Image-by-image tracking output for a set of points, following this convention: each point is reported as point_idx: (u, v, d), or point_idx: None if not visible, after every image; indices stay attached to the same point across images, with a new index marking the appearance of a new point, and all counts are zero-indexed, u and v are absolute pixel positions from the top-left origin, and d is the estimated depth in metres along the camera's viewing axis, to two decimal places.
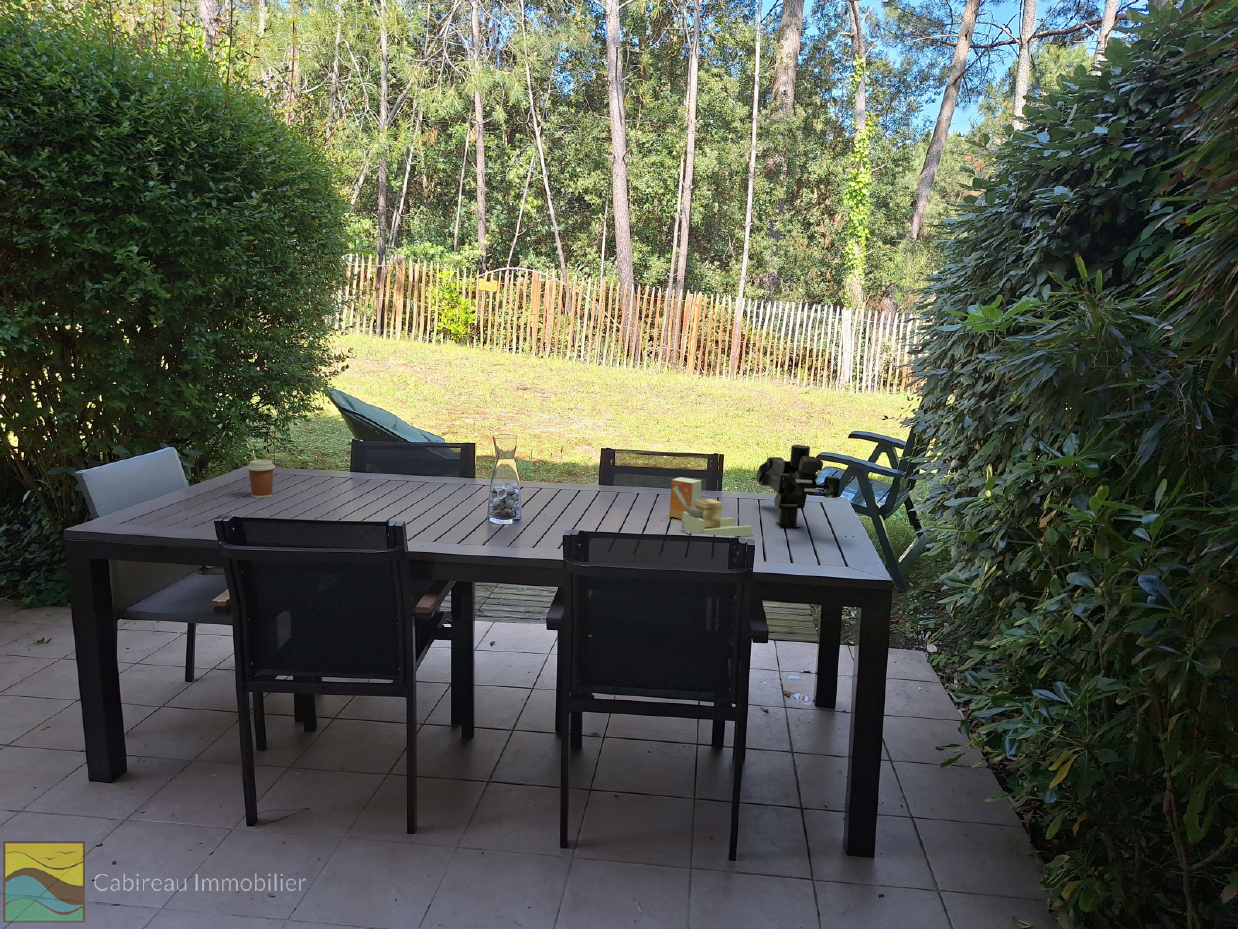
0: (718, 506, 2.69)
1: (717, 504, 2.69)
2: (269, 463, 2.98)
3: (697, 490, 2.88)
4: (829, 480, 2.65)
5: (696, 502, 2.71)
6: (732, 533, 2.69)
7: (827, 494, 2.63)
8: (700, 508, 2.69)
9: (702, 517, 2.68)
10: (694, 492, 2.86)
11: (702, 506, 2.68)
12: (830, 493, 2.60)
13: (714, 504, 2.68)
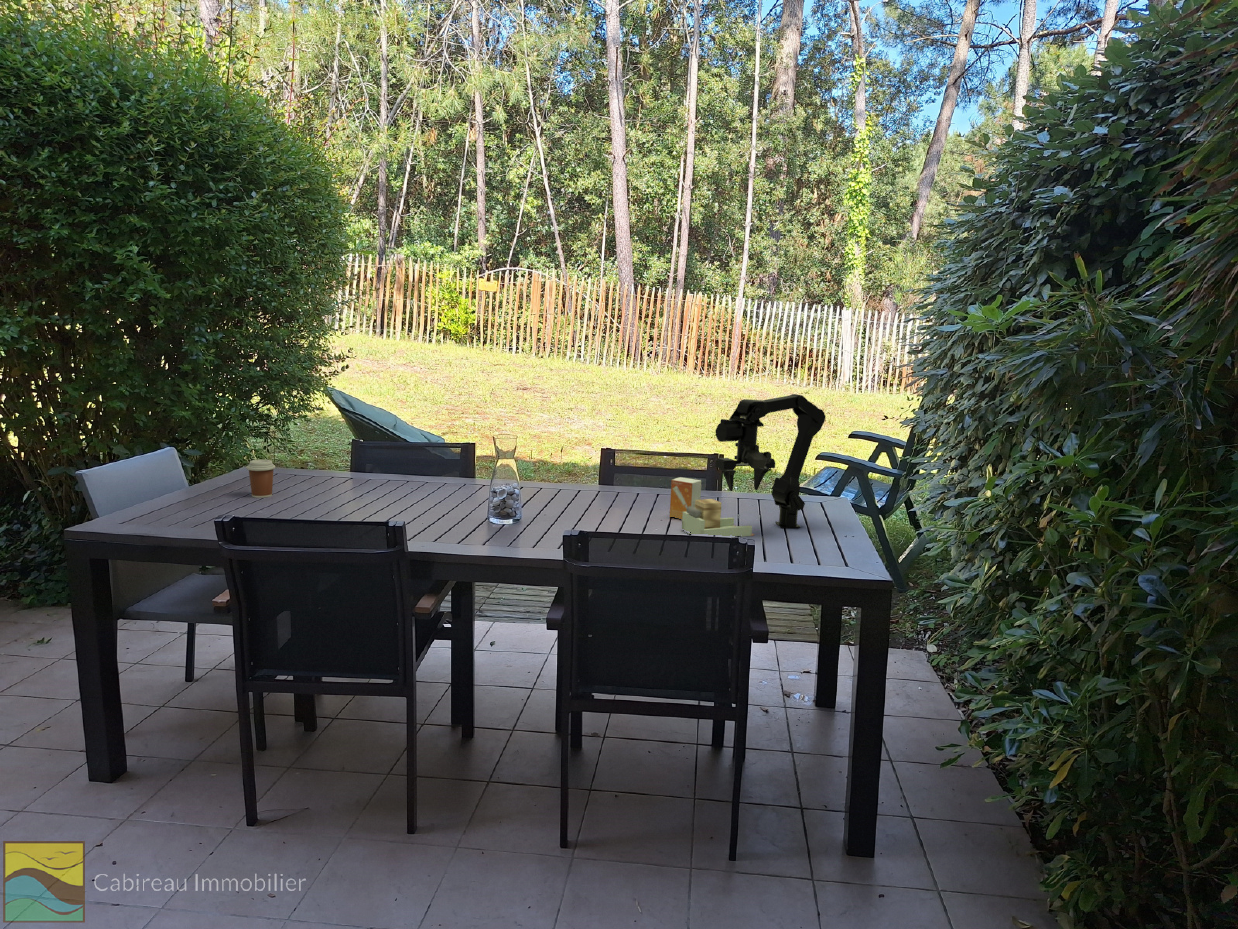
0: (718, 506, 2.69)
1: (717, 504, 2.69)
2: (269, 463, 2.98)
3: (697, 490, 2.88)
4: (764, 471, 2.74)
5: (696, 502, 2.71)
6: (732, 533, 2.69)
7: (755, 475, 2.77)
8: (700, 508, 2.69)
9: (702, 517, 2.68)
10: (694, 492, 2.86)
11: (702, 506, 2.68)
12: (755, 486, 2.77)
13: (714, 504, 2.68)
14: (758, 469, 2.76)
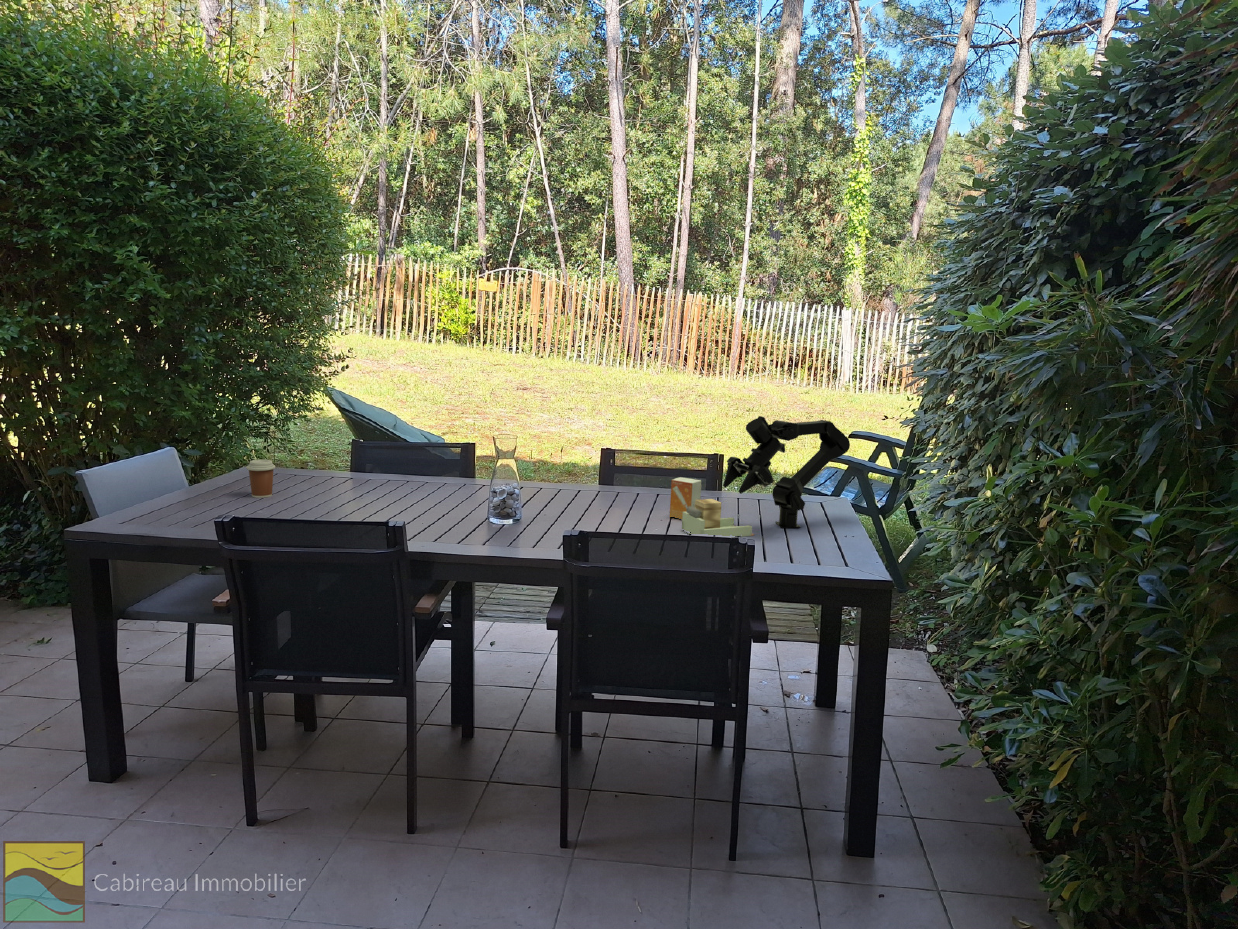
0: (718, 506, 2.69)
1: (717, 504, 2.69)
2: (269, 463, 2.98)
3: (697, 490, 2.88)
4: None
5: (696, 502, 2.71)
6: (732, 533, 2.69)
7: (730, 473, 2.77)
8: (700, 508, 2.69)
9: (702, 517, 2.68)
10: (694, 492, 2.86)
11: (702, 506, 2.68)
12: (726, 483, 2.77)
13: (714, 504, 2.68)
14: (736, 471, 2.79)
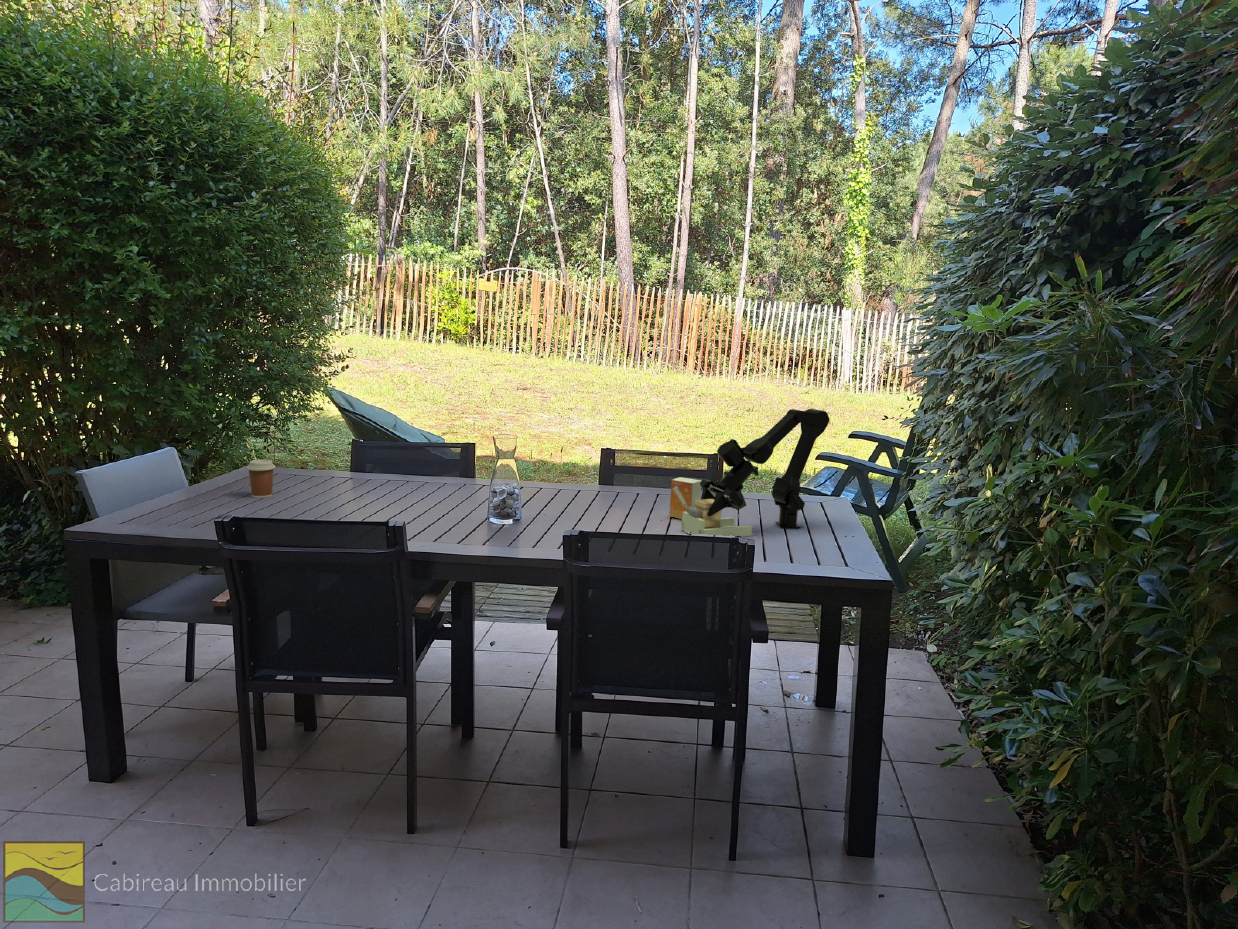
0: None
1: None
2: (269, 463, 2.98)
3: (697, 490, 2.88)
4: None
5: (696, 502, 2.71)
6: (732, 533, 2.69)
7: (705, 497, 2.73)
8: (700, 508, 2.69)
9: (702, 517, 2.68)
10: (694, 492, 2.86)
11: (702, 506, 2.68)
12: None
13: None
14: (711, 495, 2.74)
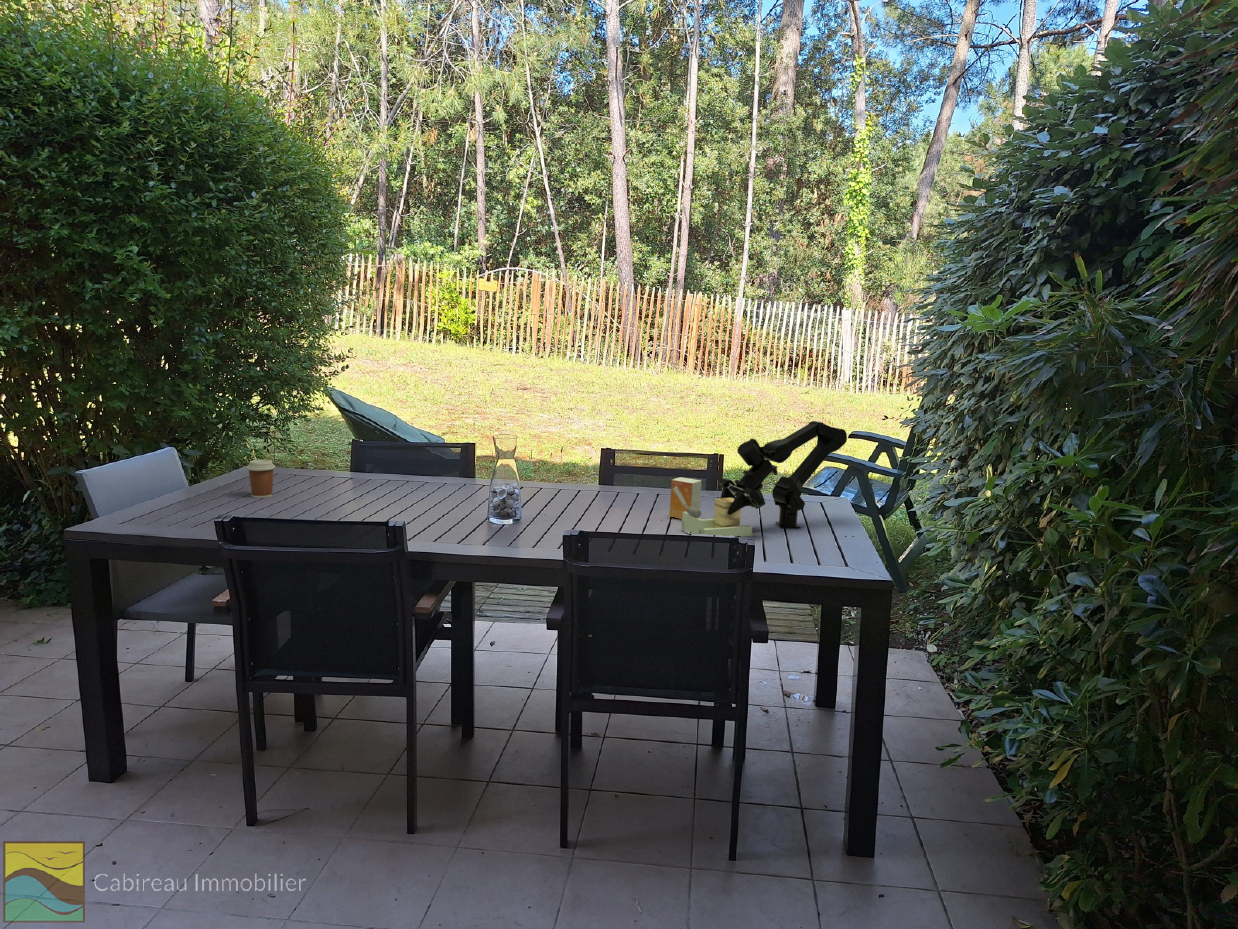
0: None
1: None
2: (269, 463, 2.98)
3: (697, 490, 2.88)
4: None
5: (716, 501, 2.74)
6: (732, 533, 2.69)
7: (724, 496, 2.76)
8: (720, 507, 2.72)
9: (722, 516, 2.71)
10: (694, 492, 2.86)
11: (722, 505, 2.70)
12: None
13: None
14: (730, 494, 2.77)
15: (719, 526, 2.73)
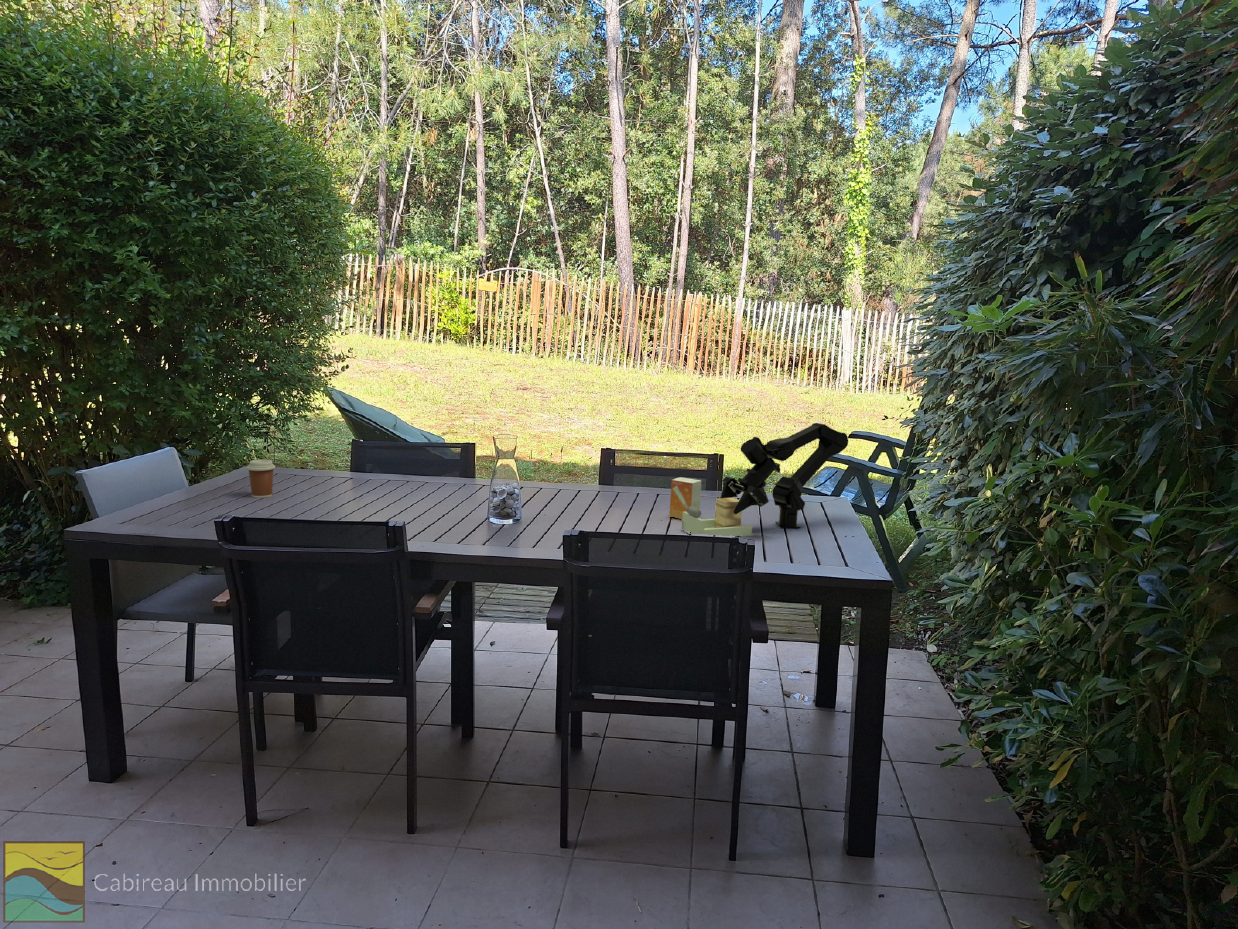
0: None
1: None
2: (269, 463, 2.98)
3: (697, 490, 2.88)
4: None
5: (717, 501, 2.74)
6: (732, 533, 2.69)
7: (725, 493, 2.78)
8: (721, 507, 2.72)
9: (723, 515, 2.71)
10: (694, 492, 2.86)
11: (723, 505, 2.71)
12: None
13: (735, 503, 2.71)
14: (731, 491, 2.79)
15: (720, 526, 2.73)
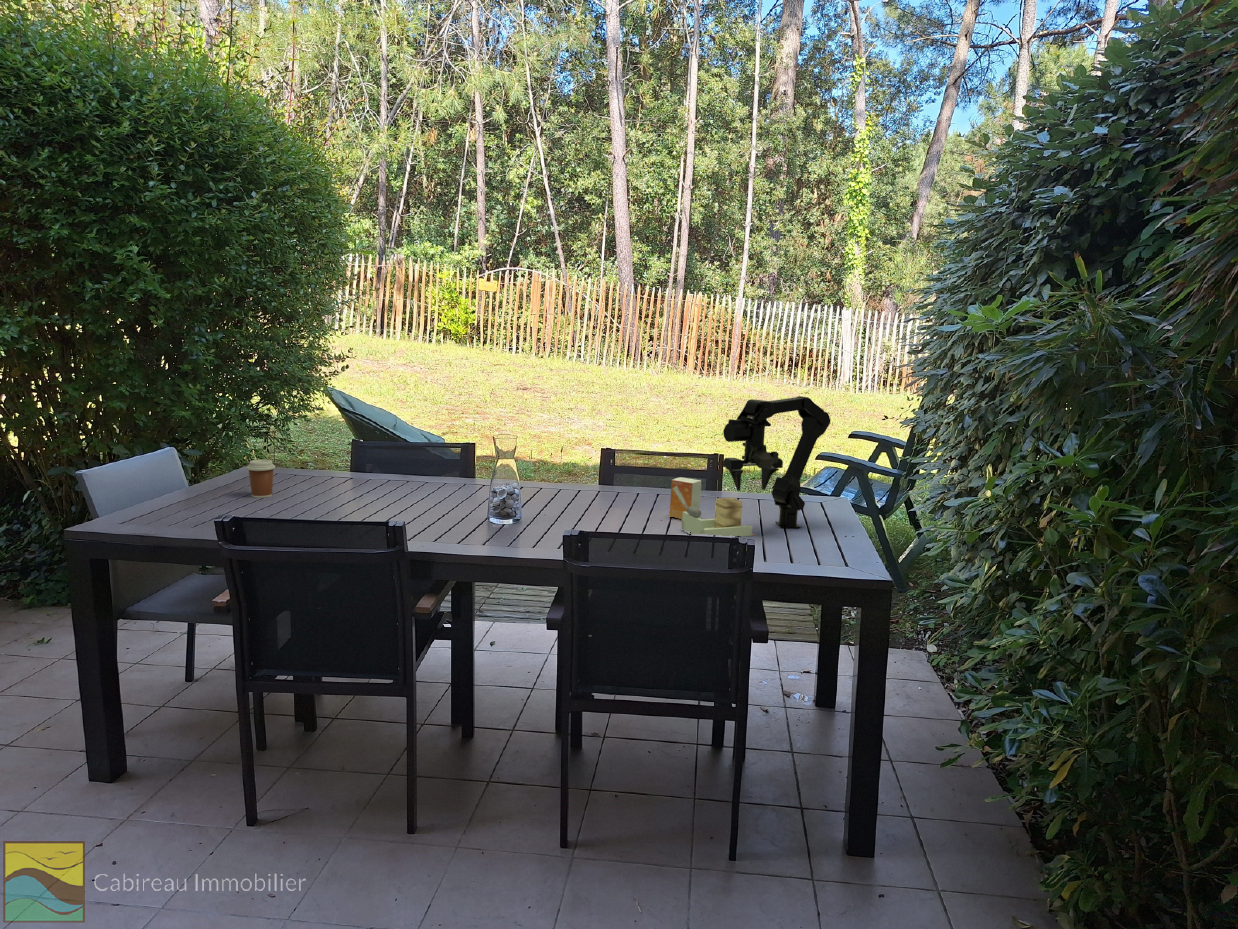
0: (738, 505, 2.72)
1: (738, 503, 2.72)
2: (269, 463, 2.98)
3: (697, 490, 2.88)
4: (772, 471, 2.75)
5: (717, 501, 2.74)
6: (732, 533, 2.69)
7: (762, 475, 2.78)
8: (721, 507, 2.72)
9: (723, 515, 2.71)
10: (694, 492, 2.86)
11: (723, 505, 2.71)
12: (762, 485, 2.77)
13: (735, 503, 2.71)
14: (766, 469, 2.77)
15: (720, 526, 2.73)
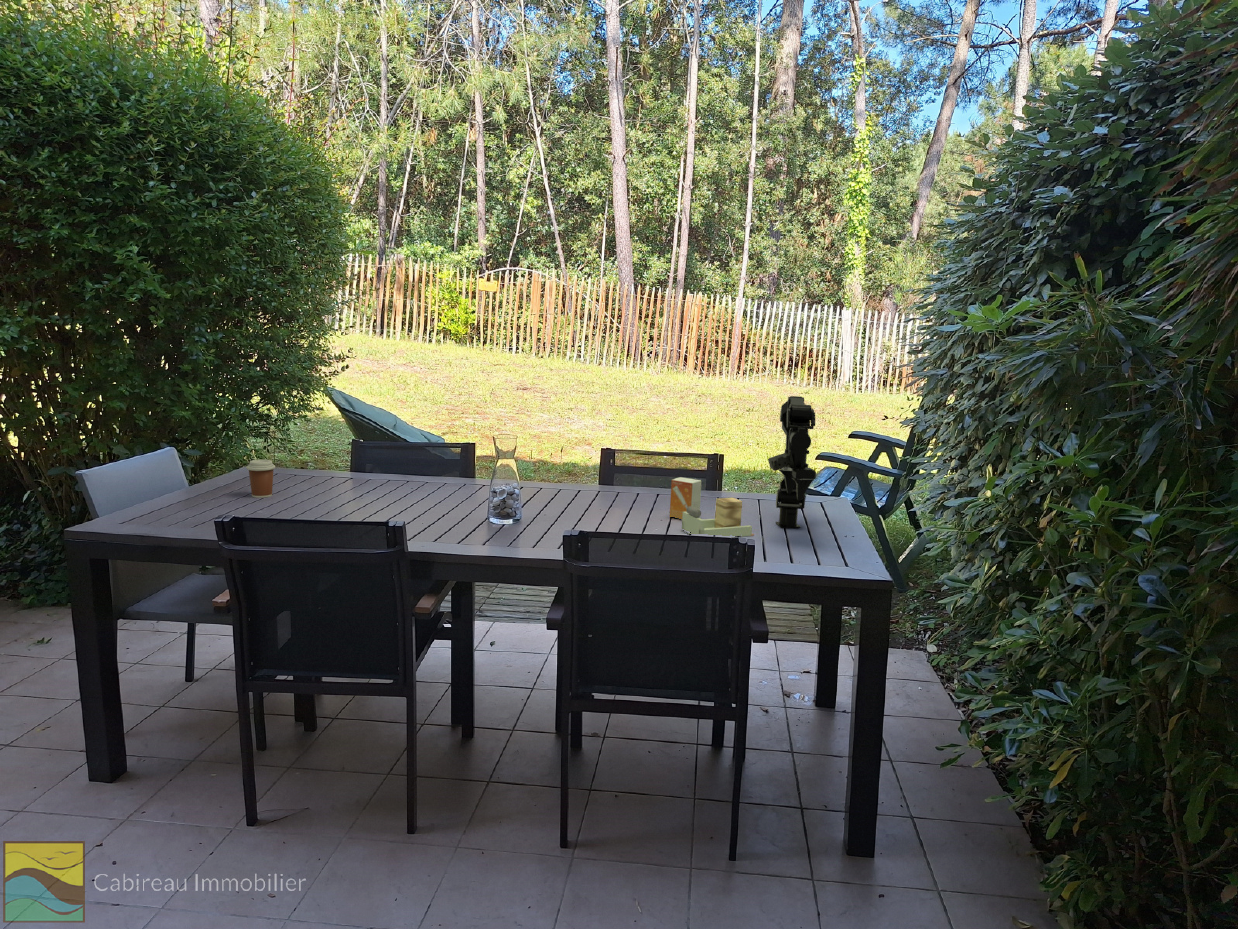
0: (738, 505, 2.72)
1: (738, 503, 2.72)
2: (269, 463, 2.98)
3: (697, 490, 2.88)
4: (793, 480, 2.62)
5: (717, 501, 2.74)
6: (732, 533, 2.69)
7: None
8: (721, 507, 2.72)
9: (723, 515, 2.71)
10: (694, 492, 2.86)
11: (723, 505, 2.71)
12: None
13: (735, 503, 2.71)
14: None
15: (720, 526, 2.73)
